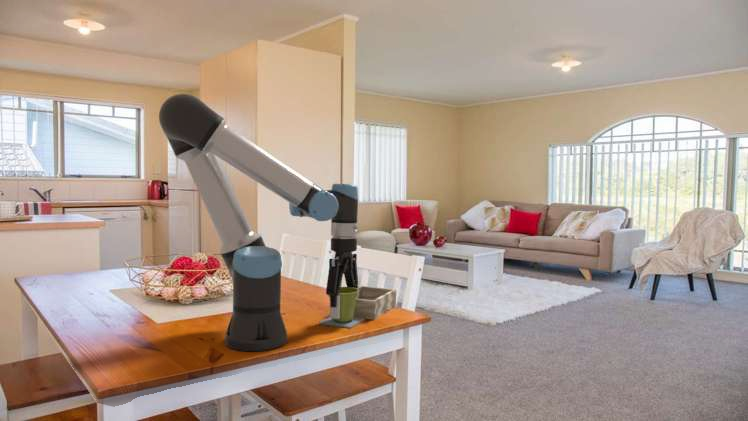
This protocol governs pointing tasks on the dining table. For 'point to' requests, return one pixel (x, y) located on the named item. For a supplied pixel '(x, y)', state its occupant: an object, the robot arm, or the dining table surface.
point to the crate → (373, 302)
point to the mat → (342, 324)
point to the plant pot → (347, 303)
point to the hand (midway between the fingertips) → (342, 314)
